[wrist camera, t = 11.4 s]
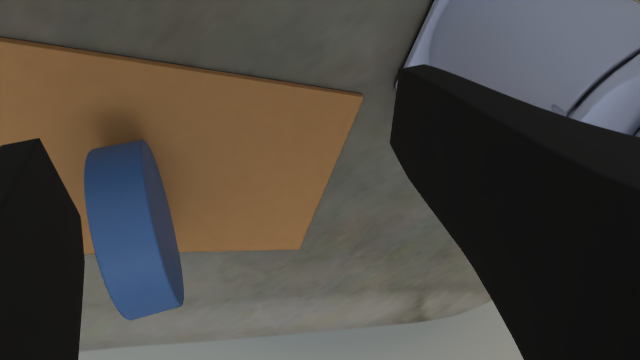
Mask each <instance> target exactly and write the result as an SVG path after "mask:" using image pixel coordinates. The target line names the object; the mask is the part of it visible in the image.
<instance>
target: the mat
mask: <svg viewBox="0 0 640 360" xmlns="http://www.w3.org/2000/svg"><path fill="white" fill-rule="evenodd" d="M363 99H364V97H363V95H362V94H360V93H353V92H347V91H341V90H334V89H328V88H322V87H315V86H309V85H303V84H296V83H290V82H283V81H277V80H271V79H264V78H258V77H252V76H245V75H239V74H232V73H226V72H220V71H213V70H207V69H201V68H194V67H188V66H181V65H175V64H169V63H162V62H156V61H150V60H143V59H137V58H131V57H124V56H118V55H111V54H105V53H99V52H92V51H86V50H80V49H73V48H67V47H60V46H54V45H48V44H41V43H35V42H29V41H22V40H16V39H9V38H3V37H0V147H1V146H2V145H5V144H11V143H16V142H21V141H26V140H31V139H37V138H40V140H41V142H42V144H43V146H44V148H45V149H46V151H47V153H48V155H49V157H50V159H51V161H52V163H53V165H54V166H55V168H56V170H57V172H58V174H59V176H60V178H61V180H62V182H63V184H64V185H65V187H66V189H67V191H68V193H69V195H70V197H71V199H72V201H73V203H74V204H75V206H76V208H77V210H78V212H79V214H80V216H81V224H82V235H83V246H84V254H95V251H94V247H93V243H92V238H91V234H90V229H89V224H88V218H87V211H86V204H85V194H84V167H85V161H86V157H87V154H88V153H89V151H90V150H92V149H95V148H101V147H106V146H111V145H116V144H122V143H127V142H132V141H138V140H145V141H146V142H147V144H148V145H149V147H150V149H151V151H152V153H153V156H154V158H155V161H156V164H157V167H158V170H159V173H160V176H161V179H162V183H163V186H164V190H165V193H166V197H167V201H168V205H169V209H170V213H171V217H172V221H173V226H174V230H175V235H176V240H177V245H178V251H179V252H201V251H247V250H293V249H299V248H300V246H301V244H302V241H303V239H304V237H305V234H306V232H307V230H308V227H309V225H310V223H311V220H312V218H313V216H314V213H315V211H316V209H317V206H318V204H319V202H320V199H321V197H322V195H323V192H324V190H325V188H326V185H327V183H328V181H329V178H330V176H331V174H332V171H333V169H334V167H335V164H336V162H337V160H338V157H339V155H340V153H341V150H342V148H343V146H344V143H345V141H346V139H347V136H348V134H349V132H350V129H351V127H352V125H353V122H354V120H355V118H356V115H357V113H358V111H359V108H360V106H361V104H362V101H363Z"/></svg>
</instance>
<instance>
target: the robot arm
mask: <svg viewBox="0 0 640 360" xmlns="http://www.w3.org/2000/svg"><path fill="white" fill-rule="evenodd" d="M395 87H396V90H397V91H396V99H395V107H394V115H393V122H392V130H391V138H390V144H391V146H392V148H393V150H394V152H395V154H396V156H397V158H398V160H399V162H400V164H401V166H402V168H403V169H404V171H405V173H406V175H407V176H408V178H409V180H410V181H411V182H412V184H413V185H414V187H415V188H416V189H417V191H418V192H419V193H420V195H421V196H422V198H423V199H424V200H425V202H426V203H427V204H428V206H429V207H430V208H431V210H432V211H433V212H434V214H435V215H436V216H437V218H438V219H439V220H440V222H441V223H442V224H443V226H444V227H445V228H446V230H447V231H448V232H449V234H450V235H451V236H452V238H453V239H454V240H455V242H456V243H457V244H458V246H459V247H460V248H461V250H462V251H463V253H464V254H465V256H466V257H467V259H468V260H469V262H470V263H471V265H472V266H473V268H474V270H475V271H476V273H477V275H478V276H479V278H480V280H481V282H482V283H483V285H484V287H485V288H486V290H487V292H488V293H489V295H490V297H491V299H492V300H493V302H494V304H495V305H496V307H497V309H498V311H499V313H500V315H501V317H502V318H503V320H504V322H505V324H506V326H507V328H508V329H509V331H510V333H511V335H512V337H513V339H514V341H515V343H516V345H517V346H518V349H519V350H520V353H521V355H522V356H523V359H524V360H640V4H639V3H637V2H635V1H633V0H434V2H433V4H432V7H431V9H430V11H429V13H428V15H427V17H426V20H425V22H424V24H423V26H422V28H421V30H420V32H419V35H418V37H417V39H416V41H415V43H414V45H413V48H412V50H411V52H410V54H409V56H408V58H407V61H406V63H405V65H404V67H403V68H401V69H399V76H398V80H397V82H396V86H395ZM84 263H85V261H84V246H83V235H82V224H81V216H80V214H79V212H78V210H77V208H76V206H75V204H74V203H73V201H72V199H71V197H70V195H69V193H68V191H67V189H66V187H65V185H64V184H63V182H62V180H61V178H60V176H59V174H58V172H57V170H56V168H55V166H54V165H53V163H52V161H51V159H50V157H49V155H48V153H47V151H46V149H45V148H44V146H43V144H42V142H41V140H40V138H37V139H31V140H26V141H21V142H16V143H11V144H5V145H2V146H1V147H0V360H78V354H79V340H80V326H81V312H82V297H83V281H84Z"/></svg>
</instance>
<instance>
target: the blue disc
mask: <svg viewBox="0 0 640 360" xmlns="http://www.w3.org/2000/svg"><path fill="white" fill-rule="evenodd" d="M84 194H85V204H86V211H87V218H88V224H89V229H90V234H91V238H92V243H93V247H94V251H95V255H96V258H97V262H98V265H99V268H100V271H101V274H102V277H103V280H104V283H105V285H106V288H107V290H108V292H109V295H110V297H111V299H112V301H113V303H114V305H115V306H116V308H117V309H118V311H119V312H120V314H121V315H122V316H123V317H124V318H126V319H128V320H134V319H137V318H141V317H144V316H148V315H152V314H155V313H159V312H163V311H166V310H170V309H173V308H177V307H180V306H182V304H183V300H184V287H183V277H182V269H181V262H180V256H179V251H178V245H177V240H176V235H175V230H174V226H173V221H172V217H171V213H170V209H169V205H168V201H167V197H166V193H165V190H164V186H163V183H162V179H161V176H160V173H159V170H158V167H157V164H156V161H155V158H154V156H153V153H152V151H151V149H150V147H149V145H148V144H147V142H146V141H145V140H138V141H132V142H127V143H122V144H116V145H111V146H106V147H101V148H95V149H92V150H90V151H89V153H88V154H87V157H86V161H85V167H84Z"/></svg>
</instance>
